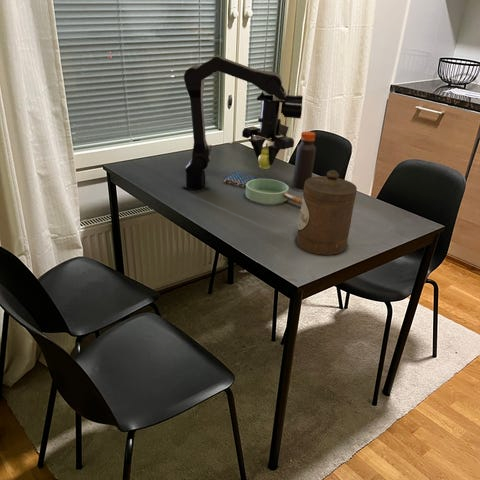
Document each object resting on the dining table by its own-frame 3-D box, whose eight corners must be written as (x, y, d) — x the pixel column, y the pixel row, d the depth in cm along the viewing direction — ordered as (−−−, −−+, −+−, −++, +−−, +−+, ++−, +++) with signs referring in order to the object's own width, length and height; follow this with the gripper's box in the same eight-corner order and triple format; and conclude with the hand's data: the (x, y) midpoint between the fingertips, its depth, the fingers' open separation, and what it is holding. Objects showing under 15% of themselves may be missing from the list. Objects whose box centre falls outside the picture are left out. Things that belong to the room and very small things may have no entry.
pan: (268, 208, 166) (270, 197, 164) (236, 195, 174) (237, 184, 172) (295, 198, 176) (297, 187, 173) (264, 186, 184) (265, 175, 181)
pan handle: (309, 208, 163) (310, 203, 162) (281, 198, 169) (282, 192, 168) (313, 207, 164) (314, 201, 163) (285, 196, 170) (285, 191, 169)
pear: (265, 170, 168) (267, 146, 163) (254, 166, 171) (256, 142, 166) (274, 167, 171) (277, 143, 166) (264, 163, 174) (266, 140, 169)
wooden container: (303, 229, 154) (314, 159, 141) (350, 239, 150) (365, 168, 138) (290, 248, 143) (300, 174, 130) (340, 260, 139) (355, 184, 126)
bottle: (301, 192, 181) (308, 136, 170) (288, 186, 185) (295, 131, 174) (313, 189, 185) (322, 134, 173) (300, 183, 189) (308, 129, 178)
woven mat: (246, 189, 180) (247, 184, 179) (222, 183, 184) (222, 177, 183) (259, 181, 188) (260, 176, 187) (235, 175, 192) (236, 170, 191)
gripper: (307, 118, 161) (300, 166, 170) (264, 107, 171) (260, 152, 180) (285, 123, 154) (280, 172, 163) (242, 110, 164) (239, 157, 173)
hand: (265, 163), depth 170 cm, fingers closed on pear, 5 cm apart
